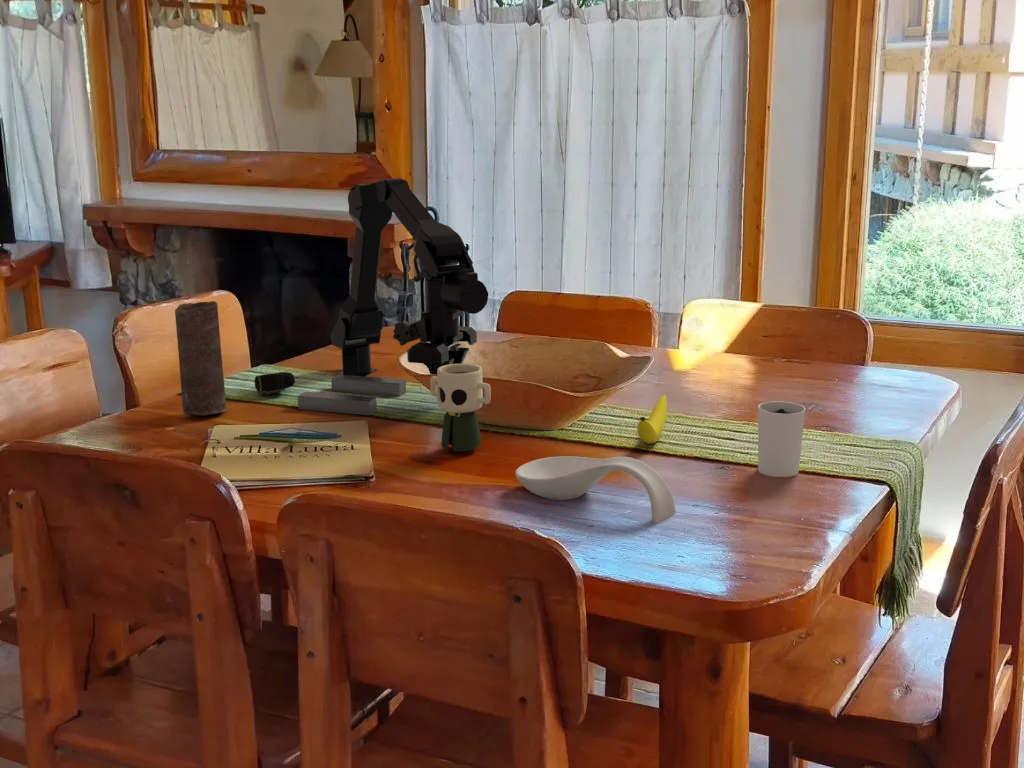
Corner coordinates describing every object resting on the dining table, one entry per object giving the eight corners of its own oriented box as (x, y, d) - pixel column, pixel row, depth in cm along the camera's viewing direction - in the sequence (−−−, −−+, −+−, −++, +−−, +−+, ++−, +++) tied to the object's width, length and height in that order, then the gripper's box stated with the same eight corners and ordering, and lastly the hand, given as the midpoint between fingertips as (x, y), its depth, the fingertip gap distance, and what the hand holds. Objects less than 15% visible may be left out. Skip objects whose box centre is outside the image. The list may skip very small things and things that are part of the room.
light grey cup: (746, 468, 160) (749, 403, 158) (786, 463, 162) (789, 399, 160) (769, 483, 154) (773, 415, 152) (810, 478, 156) (814, 411, 154)
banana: (672, 423, 183) (673, 387, 182) (651, 457, 166) (652, 418, 164) (655, 422, 184) (656, 385, 182) (632, 456, 167) (633, 416, 165)
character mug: (419, 449, 171) (417, 369, 167) (444, 437, 176) (442, 360, 173) (479, 460, 165) (477, 377, 162) (502, 447, 171) (501, 367, 168)
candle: (219, 421, 187) (210, 307, 182) (177, 421, 187) (167, 307, 182) (231, 409, 194) (223, 299, 189) (191, 409, 194) (181, 299, 189)
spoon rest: (499, 496, 151) (498, 447, 149) (549, 474, 160) (549, 427, 158) (644, 536, 137) (645, 482, 135) (690, 509, 145) (692, 458, 144)
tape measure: (297, 389, 202) (294, 369, 202) (261, 395, 199) (257, 375, 199) (288, 390, 208) (285, 370, 208) (253, 396, 205) (249, 376, 205)
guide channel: (339, 387, 208) (338, 374, 208) (406, 392, 204) (405, 379, 204) (298, 409, 194) (297, 395, 193) (369, 415, 189) (369, 401, 189)
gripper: (420, 294, 200) (422, 376, 204) (377, 312, 183) (381, 401, 187) (477, 296, 196) (478, 380, 200) (438, 316, 179) (441, 406, 183)
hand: (444, 391), depth 193 cm, fingers open, 4 cm apart
